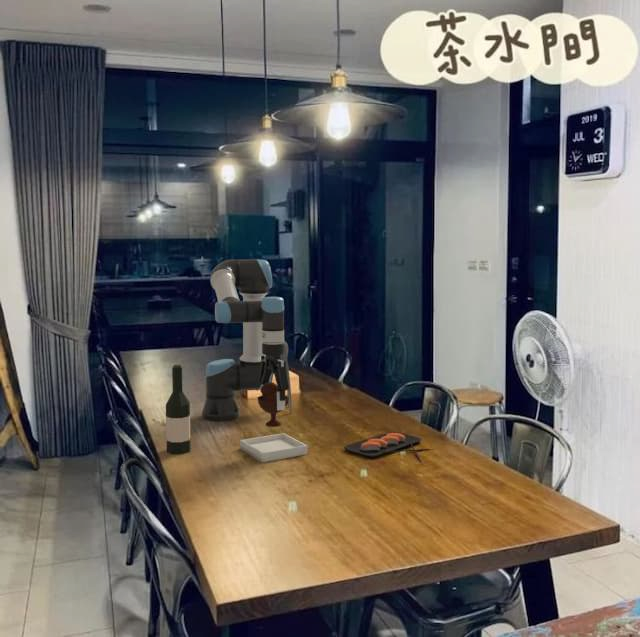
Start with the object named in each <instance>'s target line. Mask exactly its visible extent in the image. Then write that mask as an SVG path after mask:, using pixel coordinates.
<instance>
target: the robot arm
mask: <svg viewBox="0 0 640 637" xmlns="http://www.w3.org/2000/svg"><path fill="white" fill-rule="evenodd" d="M271 269H272V268H271V266H270V263H269V262H268V261H267V259H260V258H259V259H258V258H257V259H256V258H253V259H251V258H250V259H249V258H248V259H227V260H224V261H221V262H220V263H219V264H217V265H216V266H215V267H214V268H213V270H212V271H211V273H210V278H209V281H210V285H211V288H212V289H213V290H214V291H215V294H216V298H217V301H216V302H215V304H214V317H215V318H214V319H215V322H216V323H219V324H236V323H237V324H239V323H240V324H241V323H242V326H243V327H242V328H243V329H242V341H243V342H242V345H243V346H242V350H243V351H242V355H241V356H239V361H238V362H235V360H234V359H232V358H224V359H223V358H222V359H216V360H213V361H210V362H209V363H207V364H206V367H205V375H204V376H205V402H204V405H203V407H202V411H201V418H202V419H203V420H206V421H209V422H210V421H212V422H224V421H225V422H227V421H233V420H235V419H238V418H239V417H240V410H239V407H238V403H237V401H236V397H235V396H236V395H235V392H241V391H242V392H244V391H260V390H261V387H262V386H263V385H264V384H265V383H268V382H270V381H271V374H272V373H274V375H273V377H274V380H275V384H276V385H277V387H278V390H277V410H278V411H279V410H282V411H285V410H286V407H285V396H286V391H287V390H289V385H288V379H287V372H286V361H285V360H283V361H282V360H281V357H280V356H281V355H282V354H284V343H283V342H284V341H285V303H284V302H285V301H284V298H283V297H280V296H267V295H268V294H269V290H270V289H271V288H272V287H273V275H272V270H271ZM237 289H239V291H238V292H239V294H240V295H241V296H242V299H243V300H240V298H239V294H238V292H237Z"/></svg>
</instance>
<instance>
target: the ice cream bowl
mask: <svg viewBox="0 0 640 637" xmlns="http://www.w3.org/2000/svg"><path fill="white" fill-rule="evenodd" d="M277 390H278V387H277V383H276V382H273V381H272V382H268V383H265V384H264V385H263V386H262V387H261V390H259V391H260V393H261V395H260V396H257V402H258V405H259V407H260V409H262V410H263V411H265V412H266V413H268V414H270V419H269V420H267V422H265V426H266V427H269V428H270V427H271V428H278V427H281V426H282V423H281V421H279V420H277V414H278V413H280V412H282V411H283V410H279V411H278V410H277ZM288 402H290V397H288V396H287V395H285V408H286V407H288Z"/></svg>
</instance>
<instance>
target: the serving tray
mask: <svg viewBox="0 0 640 637" xmlns="http://www.w3.org/2000/svg"><path fill="white" fill-rule="evenodd" d="M239 441H240V442H239V444H240V445H239V446H240V447H239V448H240V449H241V450H242V451H243V452H245V453H246V454H248V455H250V456H251V457H252V458H254V459H256V460H258V461H259V462H261V463H266V462H270V461H271V462H272V461H276V460H282V459H283V460H284V459H287V458H288V459H289V458H294V457H298V456H305V455H308V453H309V452H308V449H309V448H308V445H307V444H306V443H304V442H301V441H300V440H297V439H296V438H294V437H292V436H290V435H289V434H286V433H284V432H283V433H278V434H277V433H276V434H270V435H269V434H268V435H264V436H257V437H253V438H246V439H240V440H239Z"/></svg>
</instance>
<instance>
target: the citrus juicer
mask: <svg viewBox="0 0 640 637" xmlns="http://www.w3.org/2000/svg"><path fill="white" fill-rule="evenodd" d="M283 343H284V354H282V355H281V356H280V357H281V360H282V361H283V360H285V361H286V372H287V379H288V385H289V390H286V391H287V392H286V393H287V394H286V396H288V397H289V402H288V404H287V409H288V408H289V413H290V415H291V414H293V406H292V405H293V403H292V389H291V388H292V387H291V378H290V371H289V370H290V369H289V363H288V356H289V355H288V354H289V345H288V343H287V341H285V340H284V342H283ZM273 378H274V373H272V374H271V381H270V382H273Z"/></svg>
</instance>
